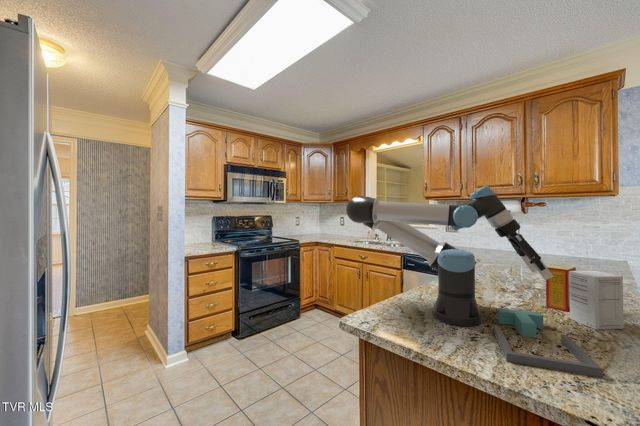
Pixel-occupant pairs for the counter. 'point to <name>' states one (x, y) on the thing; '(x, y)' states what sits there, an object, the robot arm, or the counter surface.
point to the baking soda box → (558, 288)
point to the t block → (521, 320)
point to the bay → (584, 367)
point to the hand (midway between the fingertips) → (542, 274)
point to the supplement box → (596, 299)
